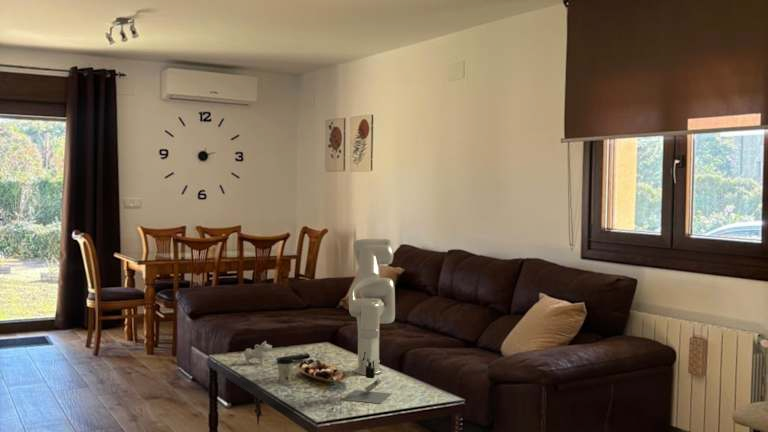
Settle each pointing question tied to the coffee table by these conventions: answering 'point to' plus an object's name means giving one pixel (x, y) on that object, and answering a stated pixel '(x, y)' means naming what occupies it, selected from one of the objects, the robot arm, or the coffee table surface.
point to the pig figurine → (257, 352)
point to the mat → (367, 396)
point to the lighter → (372, 385)
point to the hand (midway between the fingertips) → (370, 377)
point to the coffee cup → (285, 369)
